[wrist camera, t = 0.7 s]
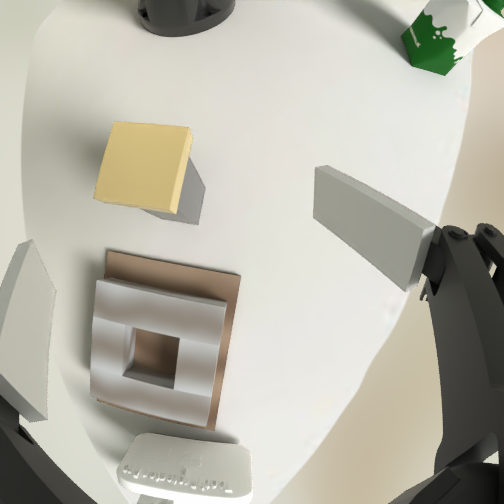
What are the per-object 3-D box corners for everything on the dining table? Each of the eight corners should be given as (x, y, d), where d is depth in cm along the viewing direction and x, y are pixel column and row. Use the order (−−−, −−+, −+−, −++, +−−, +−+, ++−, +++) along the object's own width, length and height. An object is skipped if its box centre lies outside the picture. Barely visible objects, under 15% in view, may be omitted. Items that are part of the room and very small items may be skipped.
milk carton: (450, 81, 36) (520, 23, 16) (407, 69, 36) (474, -6, 16) (435, 43, 36) (492, -18, 16) (394, 30, 36) (445, -44, 16)
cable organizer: (145, 477, 33) (124, 527, 22) (140, 424, 34) (110, 474, 22) (245, 490, 34) (247, 545, 22) (252, 438, 34) (255, 496, 22)
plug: (165, 176, 34) (114, 121, 18) (211, 183, 34) (188, 127, 18) (155, 223, 34) (93, 198, 18) (202, 231, 34) (169, 209, 18)
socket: (110, 251, 34) (92, 250, 29) (241, 275, 34) (240, 279, 29) (99, 398, 33) (84, 412, 29) (214, 427, 34) (211, 447, 29)
